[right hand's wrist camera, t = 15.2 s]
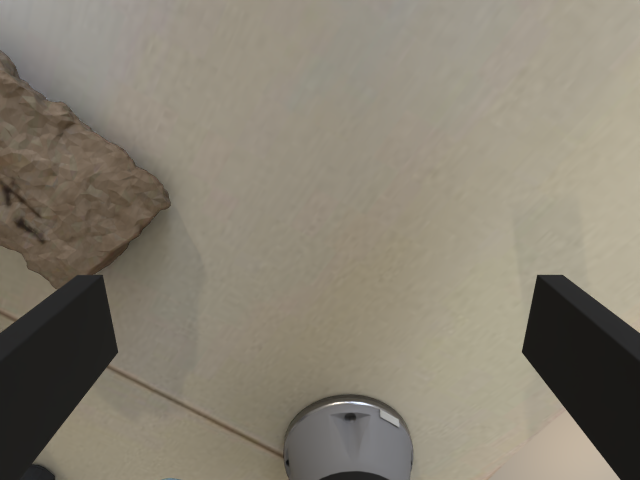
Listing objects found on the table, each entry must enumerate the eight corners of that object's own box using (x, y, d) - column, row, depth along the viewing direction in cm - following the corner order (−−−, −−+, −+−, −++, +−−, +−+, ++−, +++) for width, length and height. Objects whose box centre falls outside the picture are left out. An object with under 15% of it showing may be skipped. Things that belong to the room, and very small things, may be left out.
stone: (-143, 141, 34) (-208, 147, 28) (-21, 12, 34) (-63, -7, 28) (83, 289, 42) (66, 316, 37) (182, 187, 42) (180, 199, 37)
